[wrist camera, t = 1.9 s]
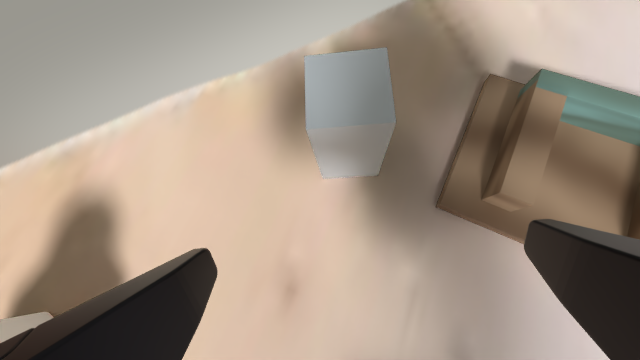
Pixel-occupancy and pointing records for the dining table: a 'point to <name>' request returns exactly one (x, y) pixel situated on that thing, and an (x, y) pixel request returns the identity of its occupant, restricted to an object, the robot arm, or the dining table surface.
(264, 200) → the dining table surface
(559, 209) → the brown wooden holder
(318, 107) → the block
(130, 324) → the robot arm
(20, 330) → the medicine bottle
